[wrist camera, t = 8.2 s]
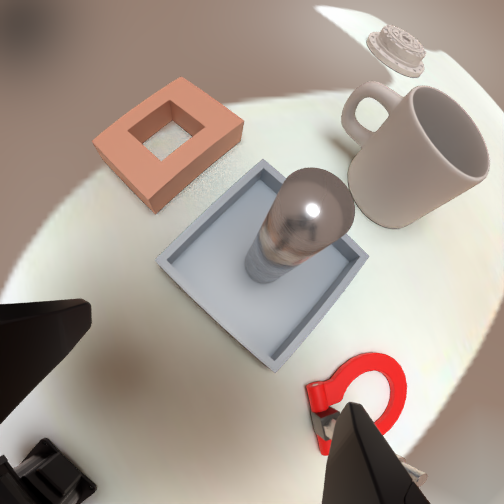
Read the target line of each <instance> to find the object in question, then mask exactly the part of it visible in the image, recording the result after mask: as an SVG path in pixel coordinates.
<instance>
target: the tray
mask: <svg viewBox="0 0 504 504" xmlns="http://www.w3.org/2000/svg"><path fill="white" fill-rule="evenodd" d="M285 180H286V178H285V177H284V176H283V175H282V174H280V173H279V172H278V171H277V170H276V169H275V168H273V167H272V166H271V165H270V164H269V163H268V162H266V161H265V160H264V159H262V160H261V161H260V162H259V163H257V164H256V165H255V166H254V167H253V168H252V169H251V170H249V171H248V172H247V173H246V174H245V175H244V176H243V177H241V178H240V179H239V180H238V181H237V182H236V183H235V184H234V185H233V186H231V187H230V188H229V189H228V190H227V191H226V192H225V193H224V194H223V195H221V196H220V197H219V198H218V199H217V200H216V201H215V202H214V203H213V204H212V205H211V206H210V207H208V208H207V209H206V210H205V211H204V212H203V213H202V214H201V215H200V216H199V217H198V218H197V219H196V220H195V221H194V222H193V223H191V224H190V225H189V226H188V227H187V228H186V229H185V230H184V231H183V232H182V233H181V234H180V235H179V236H178V237H177V238H176V239H175V240H174V241H173V242H172V243H171V244H170V245H169V246H168V247H167V248H166V249H165V250H164V251H163V252H162V253H161V254H160V255H159V256H158V257H157V258H156V259H155V261H156V262H157V264H158V265H159V266H160V267H161V268H162V269H163V270H164V271H165V272H166V273H167V274H168V275H169V276H170V277H171V278H172V279H173V280H174V281H175V282H176V283H177V284H178V285H179V286H180V287H181V288H182V289H183V290H184V291H185V292H186V293H187V294H188V295H189V296H190V297H191V298H192V299H193V300H194V301H195V302H196V303H197V304H198V305H199V306H200V307H202V308H203V309H204V310H205V311H206V312H207V313H208V314H209V315H210V316H211V317H212V318H213V319H214V320H215V321H216V322H217V323H219V324H220V325H221V326H222V327H223V328H224V329H225V330H226V331H227V332H228V333H229V334H231V335H232V336H233V337H234V338H235V339H236V340H237V341H238V342H239V343H241V344H242V345H243V346H244V347H245V348H246V349H247V350H248V351H250V352H251V353H252V354H253V355H254V356H255V357H256V358H258V359H259V360H260V361H261V362H262V363H263V364H265V365H266V366H267V367H268V368H269V369H271V370H272V371H273V372H274V373H276V372H277V371H278V370H279V369H280V368H281V366H282V365H283V364H284V363H285V362H286V361H287V360H288V359H289V357H290V356H291V355H292V354H293V353H294V352H295V351H296V349H297V348H298V347H299V346H300V345H301V344H302V342H303V341H304V340H305V339H306V338H307V336H308V335H309V334H310V333H311V332H312V330H313V329H314V328H315V327H316V326H317V324H318V323H319V322H320V321H321V319H322V318H323V317H324V316H325V315H326V313H327V312H328V311H329V310H330V308H331V307H332V306H333V304H334V303H335V302H336V301H337V299H338V298H339V297H340V295H341V294H342V293H343V292H344V290H345V289H346V288H347V286H348V285H349V284H350V282H351V281H352V280H353V278H354V277H355V275H356V274H357V273H358V271H359V270H360V269H361V267H362V266H363V265H364V263H365V262H366V260H367V259H368V258H369V255H368V254H367V253H366V252H365V251H364V250H363V249H362V248H361V247H360V246H359V245H357V244H356V243H355V242H354V241H353V240H352V239H351V238H350V237H349V236H348V235H347V234H345V235H344V236H342V237H341V238H340V239H338V240H337V241H335V242H334V243H332V244H331V245H329V246H328V247H326V248H325V249H323V250H322V251H320V252H319V253H317V254H316V255H314V256H313V257H311V258H310V259H308V260H307V261H305V262H303V263H302V264H300V265H299V266H297V267H296V268H294V269H293V270H291V271H290V272H288V273H287V274H285V275H283V276H282V277H280V278H279V279H277V280H276V281H274V282H272V283H268V284H261V283H258V282H255V281H254V280H252V279H251V278H250V277H249V276H248V274H247V272H246V270H245V264H244V263H245V258H246V255H247V253H248V251H249V249H250V247H251V245H252V243H253V241H254V239H255V237H256V235H257V233H258V231H259V229H260V228H261V226H262V224H263V222H264V220H265V218H266V216H267V214H268V212H269V210H270V208H271V206H272V204H273V202H274V200H275V198H276V196H277V194H278V192H279V190H280V188H281V186H282V184H283V182H284V181H285Z"/></svg>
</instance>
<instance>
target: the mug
mask: <svg viewBox="0 0 504 504" xmlns="http://www.w3.org/2000/svg"><path fill="white" fill-rule="evenodd" d="M367 97H371V98H374V99H375V100H377V101H378V102H379V103H381V104H382V105H383V106H384V108H385V109H386V110H387V112H388V113H389V116H388V118H387V119H386V121H385V122H384V123H383V124H382V125H381V127H380V128H379V129H378V130H377V131H376V132H371V131H369V130H367V129H366V128H364V127H363V126H362V125H361V124H360V123H359V122H358V121H357V119H356V117H355V111H356V108H357V106H358V104H359V102H360V101H361V100H362V99H364V98H367ZM341 123H342V126H343V128H344V130H345V131H346V132H347V134H348V135H349V136H350V137H351V138H352V139H353V140H354V141H356V142H357V143H358V144H359V145H360V146H361V147H362V149H361V150H360V151H359V152H358V153H357V155H356V156H355V157H354V159H353V160H352V162H351V164H350V167H349V171H348V182H349V187H350V191H351V194H352V196H353V198H354V200H355V202H356V204H357V205H358V207H359V208H360V209H361V210H362V212H363V213H364V214H365V215H366V216H367V217H369V218H370V219H371V220H372V221H374V222H375V223H377V224H379V225H381V226H384V227H387V228H402V227H405V226H407V225H409V224H411V223H413V222H415V221H416V220H418V219H419V218H421V217H423V216H424V215H426V214H428V213H430V212H431V211H433V210H435V209H437V208H438V207H440V206H442V205H443V204H445V203H447V202H449V201H450V200H452V199H454V198H455V197H457V196H459V195H461V194H462V193H464V192H466V191H467V190H469V189H471V188H472V187H474V186H475V185H477V184H479V183H480V182H482V181H483V180H484V179H485V178H486V176H487V175H488V172H489V167H490V160H489V154H488V150H487V147H486V144H485V141H484V139H483V137H482V135H481V133H480V131H479V129H478V128H477V126H476V124H475V123H474V121H473V120H472V119H471V117H470V116H469V115H468V114H467V112H466V111H465V110H464V109H463V108H462V107H461V106H460V105H459V104H458V103H457V102H456V101H454V100H453V99H452V98H451V97H449V96H448V95H447V94H445V93H443V92H442V91H440V90H438V89H436V88H433V87H430V86H417V87H415V88H413V89H412V90H411V91H410V92H409V93H408V94H407V95H406V96H405V97H402V96H400V95H399V94H397V93H396V92H395V91H393V90H392V89H390V88H389V87H387V86H385V85H383V84H381V83H379V82H374V81H370V82H366V83H364V84H362V85H360V86H359V87H358V88H356V89H355V91H354V92H353V93H352V94H351V95H350V97H349V98H348V99H347V101H346V103H345V105H344V108H343V111H342V116H341Z"/></svg>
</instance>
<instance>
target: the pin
mask: <svg viewBox="0 0 504 504" xmlns="http://www.w3.org/2000/svg"><path fill="white" fill-rule="evenodd" d="M354 216H355V206H354V201H353V198H352V195H351V193H350V191H349V190H348V188H347V187H346V185H345V184H344V183H343V182H342V181H341V180H340V179H339V178H338V177H337V176H335V175H334V174H332V173H330V172H328V171H326V170H323V169H319V168H303V169H300V170H297V171H295V172H293V173H292V174H290V175H289V176H288V177H287V178H286V180H285V181H284V182H283V184H282V186H281V188H280V190H279V192H278V194H277V196H276V198H275V200H274V202H273V204H272V206H271V208H270V210H269V212H268V214H267V216H266V218H265V220H264V222H263V224H262V226H261V228H260V229H259V231H258V233H257V235H256V237H255V239H254V241H253V243H252V245H251V247H250V249H249V251H248V253H247V255H246V258H245V263H244V264H245V270H246V272H247V274H248V276H249V277H250V278H251V279H252V280H254V281H255V282H258V283H261V284H268V283H272V282H274V281H276V280H277V279H279V278H280V277H282V276H283V275H285V274H287V273H288V272H290V271H291V270H293V269H294V268H296V267H297V266H299V265H300V264H302V263H303V262H305V261H307V260H308V259H310V258H311V257H313V256H314V255H316V254H317V253H319V252H320V251H322V250H323V249H325V248H326V247H328V246H329V245H331V244H332V243H334V242H335V241H337V240H338V239H340V238H341V237H342V236H344V235H345V234H346V233H347V232H348V230H349V229H350V227H351V226H352V223H353V221H354Z"/></svg>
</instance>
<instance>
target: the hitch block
mask: <svg viewBox="0 0 504 504" xmlns="http://www.w3.org/2000/svg"><path fill="white" fill-rule="evenodd" d="M172 120H173V121H174V122H175V123H177V124H178V125H179V126H180V127H182V128H183V129H184V130H185V131H187V132H188V133H189V134H190V135H192V136H193V137H192V138H190V139H189V140H188V141H186V142H185V143H184V144H183V145H181V146H180V147H179V148H177V149H176V150H175V151H174V152H172V153H171V154H170V155H169V156H168V157H166V158H165V159H164V160H163V161H162V162H161V161H160V160H159V159H158V158H157V157H156V156H155V155H153V154H152V153H151V152H150V151H149V150H148V149H147V148H146V147H145V146H144V145H142V143H143V142H145V141H146V140H147V139H148V138H150V137H151V136H152V135H154V134H155V133H156V132H157V131H159V130H160V129H161V128H163V127H164V126H165V125H167V124H168V123H169V122H171V121H172ZM243 125H244V120H242V119H241V118H240V117H238V116H237V115H236V114H234V113H233V112H232V111H230V110H229V109H228V108H226V107H225V106H223V105H222V104H221V103H219V102H218V101H216V100H215V99H213V98H212V97H211V96H209V95H208V94H206V93H205V92H204V91H202V90H201V89H199V88H198V87H196V86H195V85H193V84H192V83H190V82H189V81H187V80H186V79H184V78H183V77H180V78H178V79H176V80H175V81H173V82H171V83H170V84H168V85H167V86H165V87H164V88H162V89H160V90H159V91H157V92H156V93H154V94H153V95H151V96H150V97H149V98H147V99H146V100H144V101H143V102H141V103H140V104H139V105H137V106H136V107H134V108H133V109H132V110H130V111H129V112H128V113H126V114H125V115H124V116H122V117H121V118H120V119H118V120H117V121H116V122H114V123H113V124H112V125H111V126H109V127H108V128H107V129H106V130H104V131H103V132H102V133H101V134H100V135H98V136H97V137H96V138H95V139H94V140H93V141H92V142H93V144H94V146H95V147H96V149H97V151H98V153H99V155H100V156H101V158H102V159H103V160H104V162H105V163H106V164H107V165H108V166H109V167H110V168H111V169H112V170H113V171H114V172H115V173H116V174H117V175H118V176H119V177H120V178H121V180H122V181H123V182H124V183H125V184H126V185H127V186H128V187H129V188H130V189H131V190H132V191H133V192H134V193H135V194H136V195H137V196H138V197H139V198H140V199H141V200H142V201H143V202H144V203H145V204H146V205H147V206H148V207H149V208H150V209H151V210H152V211H153V212H154V213H155V215H156V214H157V213H158V212H159V211H160V210H161V209H162V208H163V207H164V206H165V205H166V204H167V203H168V202H170V201H171V200H172V199H173V198H174V197H175V196H176V195H177V194H178V193H179V192H181V191H182V190H183V189H184V188H185V187H186V186H187V185H188V184H190V183H191V182H192V181H193V180H194V179H195V178H196V177H198V176H199V175H200V174H201V173H202V172H203V171H205V170H206V169H207V168H208V167H209V166H211V165H212V164H213V163H214V162H215V161H217V160H218V159H219V158H220V157H221V156H223V155H224V154H225V153H226V152H228V151H229V150H230V149H231V148H232V147H234V146H235V145H236V144H237V143H239V142H240V141H241V136H242V130H243Z"/></svg>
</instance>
